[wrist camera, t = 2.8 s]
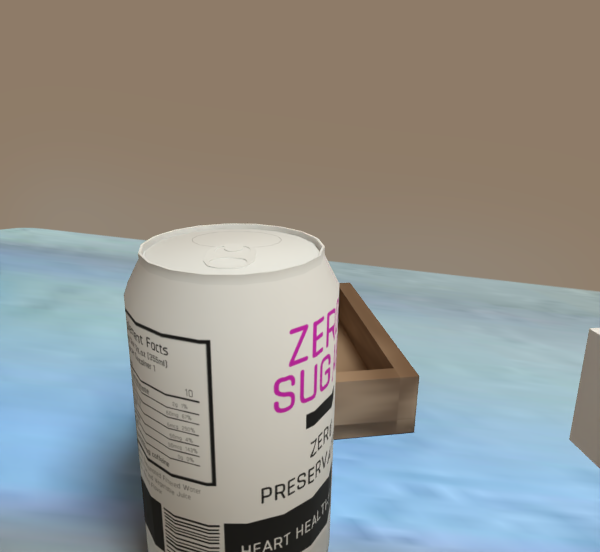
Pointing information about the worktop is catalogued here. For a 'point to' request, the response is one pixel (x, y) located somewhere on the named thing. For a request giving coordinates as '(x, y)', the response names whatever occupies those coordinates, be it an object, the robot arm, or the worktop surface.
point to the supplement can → (234, 388)
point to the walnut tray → (370, 375)
